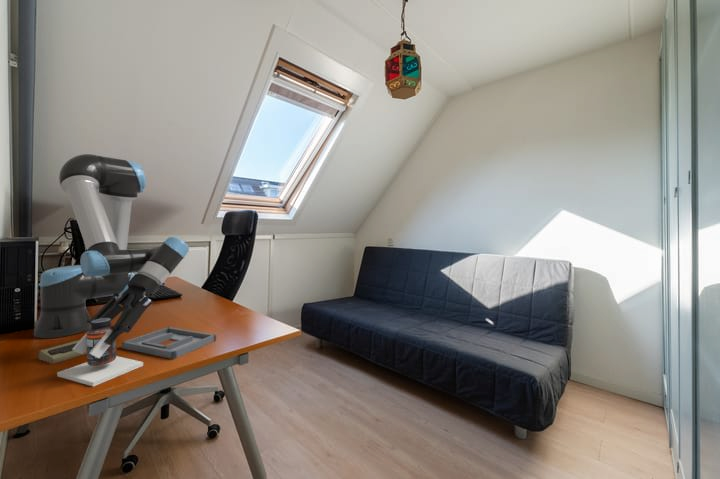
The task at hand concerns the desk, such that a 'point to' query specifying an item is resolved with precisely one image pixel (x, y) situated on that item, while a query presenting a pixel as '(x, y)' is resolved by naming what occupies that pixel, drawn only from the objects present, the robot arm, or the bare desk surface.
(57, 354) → the computer
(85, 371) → the white mat
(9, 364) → the desk surface
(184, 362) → the desk surface
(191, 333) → the grey rectangular frame tray
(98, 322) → the supplement bottle
